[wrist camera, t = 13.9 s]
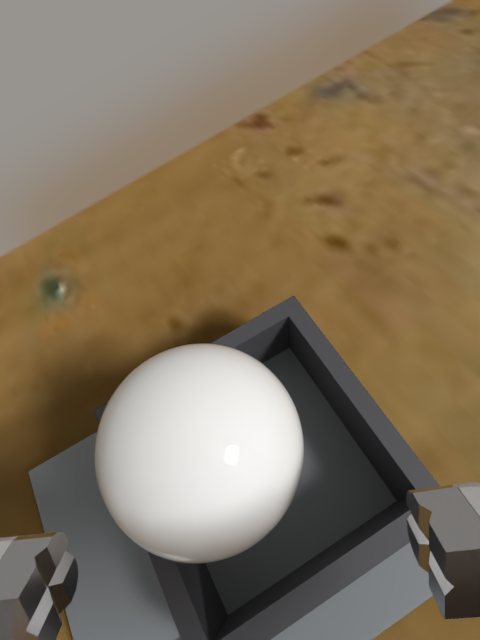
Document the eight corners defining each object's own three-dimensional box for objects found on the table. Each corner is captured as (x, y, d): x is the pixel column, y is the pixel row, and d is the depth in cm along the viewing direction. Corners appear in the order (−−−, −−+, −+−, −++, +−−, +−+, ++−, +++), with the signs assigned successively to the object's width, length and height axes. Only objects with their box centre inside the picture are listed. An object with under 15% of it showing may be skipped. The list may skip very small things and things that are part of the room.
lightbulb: (155, 434, 20) (31, 364, 10) (264, 385, 21) (245, 275, 11) (195, 565, 17) (75, 641, 7) (321, 505, 18) (362, 502, 8)
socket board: (137, 793, 15) (64, 928, 11) (44, 473, 22) (-29, 464, 17) (466, 556, 17) (534, 576, 13) (296, 325, 24) (297, 278, 19)
